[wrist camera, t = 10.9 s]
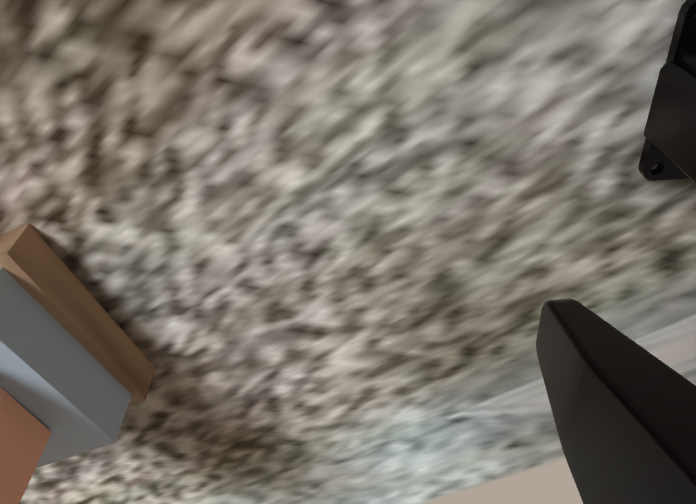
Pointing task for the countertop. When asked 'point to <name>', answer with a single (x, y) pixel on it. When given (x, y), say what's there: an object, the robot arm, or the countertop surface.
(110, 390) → the grey top slab
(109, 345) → the walnut base slab
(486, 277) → the countertop surface
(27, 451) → the terracotta block
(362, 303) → the countertop surface
